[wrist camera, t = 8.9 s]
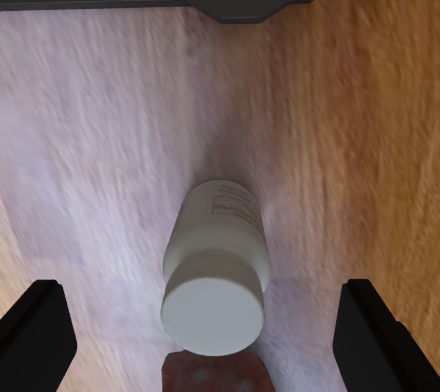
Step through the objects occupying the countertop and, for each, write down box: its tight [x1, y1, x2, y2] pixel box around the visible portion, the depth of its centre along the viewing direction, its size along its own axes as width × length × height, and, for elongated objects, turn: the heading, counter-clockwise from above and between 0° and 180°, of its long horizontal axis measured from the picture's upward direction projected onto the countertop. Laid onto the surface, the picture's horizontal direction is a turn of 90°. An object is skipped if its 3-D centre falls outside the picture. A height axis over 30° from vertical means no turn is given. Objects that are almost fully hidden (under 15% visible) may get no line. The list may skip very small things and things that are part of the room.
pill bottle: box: [161, 179, 271, 356], centre depth 14 cm, size 4×4×8 cm
